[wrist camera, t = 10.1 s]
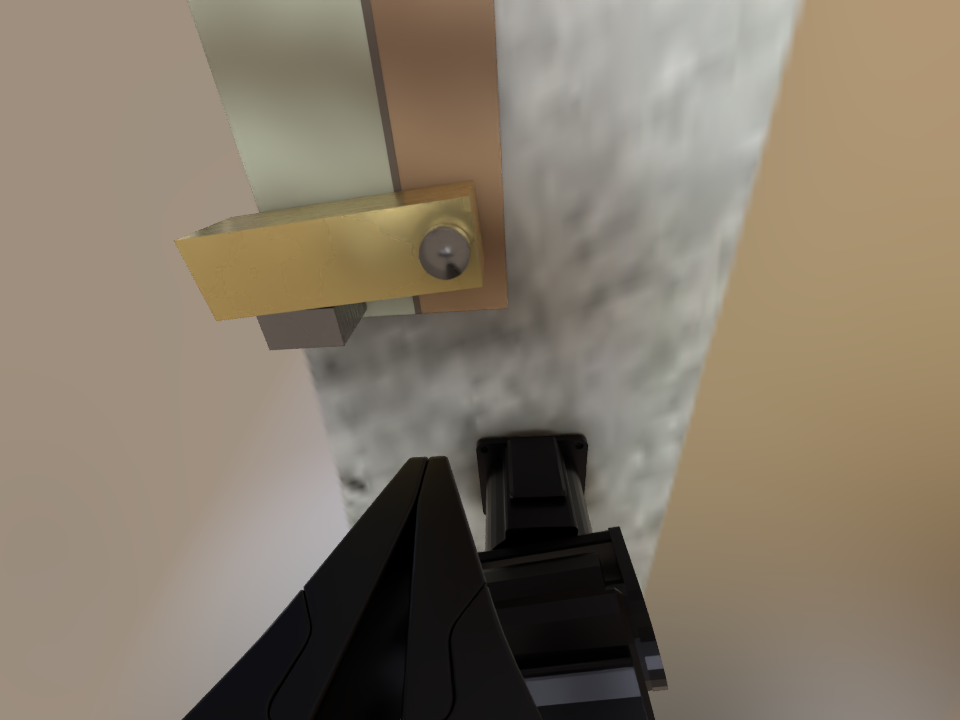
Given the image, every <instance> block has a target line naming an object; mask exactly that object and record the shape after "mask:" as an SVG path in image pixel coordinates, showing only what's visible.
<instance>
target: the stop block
mask: <svg viewBox="0 0 960 720" xmlns="http://www.w3.org/2000/svg"><path fill="white" fill-rule="evenodd" d="M366 310H367V306H366V302H361V303H353V304H345V305H338V306H330V307H322V308H314V309H306V310H299V311H291V312H283V313H275V314H267V315H260V316H257V319H258V321H259V324H260V327H261V329H262V331H263V334H264V336H265V339H266V342H267V344H268V347H269V349H270V350H279V349H298V348H316V347H333V346H344V345H345V343H346V342H347V340H348V339H349V337H350V336H351V334H352V332H353V331H354V329H355V328H356V326H357V324H358V323H359V321H360V320H361V318H362V316H363V315H364V313H365V312H366Z"/></svg>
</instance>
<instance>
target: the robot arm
mask: <svg viewBox="0 0 960 720" xmlns="http://www.w3.org/2000/svg"><path fill="white" fill-rule="evenodd" d="M577 443H581V444H578V445H577ZM482 447H488V448H482ZM476 451H477V460H478V469H479V478H480V487H481V496H482V505H483V512H484V514H485V515H486V542H485V551H483V552H477V550H476V547H475V543H474V540H473V537H472V534H471V531H470V527H469V524H468V521H467V518H466V514H465V511H464V508H463V505H462V502H461V498H460V495H459V492H458V489H457V486H456V482H455V479H454V476H453V473H452V470H451V466H450V463H449V460H448V458H447V457H446V456H435V457H430V458H429V459H428V458H427V457H412V458H410V459H409V460H408V461H407V462H406V463H405V464H404V466H403V467H402V468H401V469H400V470H399V472H398V473H397V474H396V475H395V476H394V478H393V479H392V480H391V481H390V483H389V484H388V485H387V486H386V487H385V489H384V490H383V491H382V492H381V493H380V495H379V496H378V497H377V498H376V499H375V501H374V502H373V503H372V504H371V506H370V507H369V508H368V509H367V510H366V512H365V513H364V514H363V515H362V516H361V518H360V519H359V520H358V521H357V523H356V524H355V525H354V526H353V527H352V529H351V530H350V531H349V532H348V533H347V535H346V536H345V537H344V538H343V540H342V541H341V542H340V543H339V544H338V546H337V547H336V548H335V549H334V550H333V552H332V553H331V554H330V555H329V557H328V558H327V559H326V560H325V561H324V563H323V564H322V565H321V566H320V567H319V569H318V570H317V571H316V572H315V574H314V575H313V576H312V577H311V578H310V580H309V581H308V582H307V583H306V584H305V586H304V590H300V591H299V593H298V594H297V595H296V596H295V598H294V599H293V600H292V601H291V602H290V604H289V605H288V606H287V607H286V608H285V610H284V611H283V612H282V613H281V614H280V615H279V617H278V618H277V619H276V620H275V621H274V622H273V623H272V625H271V626H270V627H269V628H268V629H267V631H266V632H265V633H264V634H263V635H262V636H261V637H260V638H259V640H258V641H257V642H256V643H255V644H254V645H253V646H252V647H251V648H250V649H249V650H248V651H247V652H246V653H245V654H244V656H243V657H242V658H241V659H240V660H239V661H238V662H237V663H236V664H235V665H234V666H233V667H232V668H231V669H230V670H229V671H228V673H227V674H226V675H225V676H224V677H223V678H222V679H221V680H220V681H219V682H218V683H217V684H216V685H215V686H214V687H213V688H212V689H211V690H210V691H209V692H208V693H207V694H206V695H205V696H204V697H203V698H202V699H201V700H200V702H199V703H197V705H196V706H195V707H194V708H193V709H192V710H191V711H190V712H189V713H188V714H187V715H186V716H185V717H184V718H183V719H182V720H655V718H654V714H653V710H652V706H651V703H650V698H649V695H648V691H650V690H653V691H660V690H668V686H667V681H666V676H665V672H664V668H663V664H662V660H661V656H660V653H659V649H658V646H657V642H656V639H655V635H654V631H653V628H652V624H651V621H650V618H649V614H648V611H647V608H646V605H645V601H644V598H643V595H642V592H641V589H640V586H639V583H638V580H637V577H636V574H635V571H634V568H633V565H632V562H631V559H630V556H629V554H628V551H627V548H626V545H625V542H624V539H623V536H622V533H621V530H620V527H619V526H618V527H612V528H608V530H607V531H601V532H595V533H592V529H591V524H590V520H589V516H588V512H587V508H586V503H585V499H584V490H585V477H586V464H587V451H588V444H587V440H586V438H585V437H584V436H582V435H564V436H541V437H517V438H493V439H481V440H479V441H478V442H477V448H476Z"/></svg>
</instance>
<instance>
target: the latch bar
mask: <svg viewBox="0 0 960 720" xmlns="http://www.w3.org/2000/svg"><path fill="white" fill-rule="evenodd" d="M174 242H175V243H176V245H177V247H178V249H179V251H180V253H181V255H182V257H183V259H184V261H185V262H186V264H187V266H188V268H189V270H190V272H191V274H192V276H193V278H194V280H195V281H196V283H197V285H198V287H199V289H200V291H201V293H202V295H203V297H204V299H205V300H206V302H207V304H208V306H209V308H210V310H211V312H212V314H213V316H214V318H215V320H216V321H221V320H229V319H236V318H244V317H252V316H260V315H267V314H275V313H283V312H291V311H299V310H306V309H314V308H322V307H330V306H338V305H345V304H353V303H361V302H369V301H376V300H384V299H392V298H400V297H408V296H415V295H423V294H431V293H439V292H446V291H454V290H462V289H470V288H478V287H483V271H484V251H483V244H482V237H481V230H480V222H479V215H478V208H477V201H476V194H475V187H474V180H470V181H464V182H457V183H451V184H445V185H438V186H432V187H425V188H419V189H412V190H406V191H399V192H393V193H386V194H380V195H373V196H367V197H360V198H354V199H347V200H341V201H334V202H328V203H321V204H315V205H308V206H302V207H295V208H289V209H282V210H276V211H269V212H263V213H256V214H250V215H244V216H237V217H231V218H229V219H226V220H224V221H221V222H219V223H216V224H214V225H211V226H209V227H206V228H204V229H201V230H199V231H196V232H194V233H192V234H189V235H187V236H184V237H182V238H179V239H177V240H174Z"/></svg>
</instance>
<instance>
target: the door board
mask: <svg viewBox="0 0 960 720" xmlns="http://www.w3.org/2000/svg"><path fill="white" fill-rule="evenodd" d="M187 2H188V5H189V8H190V11H191V14H192V16H193V19H194V22H195V25H196V28H197V31H198V34H199V37H200V40H201V43H202V46H203V49H204V52H205V54H206V57H207V60H208V63H209V66H210V69H211V72H212V75H213V78H214V81H215V84H216V87H217V90H218V92H219V95H220V98H221V101H222V104H223V107H224V110H225V113H226V116H227V119H228V122H229V125H230V128H231V130H232V133H233V136H234V139H235V142H236V145H237V148H238V151H239V154H240V157H241V160H242V163H243V166H244V168H245V171H246V174H247V177H248V180H249V183H250V186H251V189H252V192H253V195H254V198H255V201H256V204H257V206H258V209H259V212H260V213H263V212H269V211H276V210H282V209H289V208H295V207H302V206H308V205H315V204H321V203H328V202H334V201H341V200H347V199H354V198H360V197H367V196H373V195H380V194H386V193H393V192H399V191H406V190H412V189H419V188H425V187H432V186H438V185H445V184H451V183H457V182H464V181H470V180H474V187H475V194H476V201H477V208H478V215H479V222H480V230H481V237H482V244H483V251H484V271H483V287H478V288H470V289H462V290H454V291H446V292H439V293H431V294H423V295H415V296H408V297H400V298H392V299H384V300H376V301H369V302H366V306H367V310H366V312H365V313H364V315H363V316H362V317H373V316H389V315H405V314H422V313H438V312H454V311H470V310H486V309H503V308H508V294H507V273H506V251H505V230H504V208H503V187H502V166H501V144H500V123H499V101H498V80H497V59H496V37H495V16H494V0H187Z"/></svg>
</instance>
